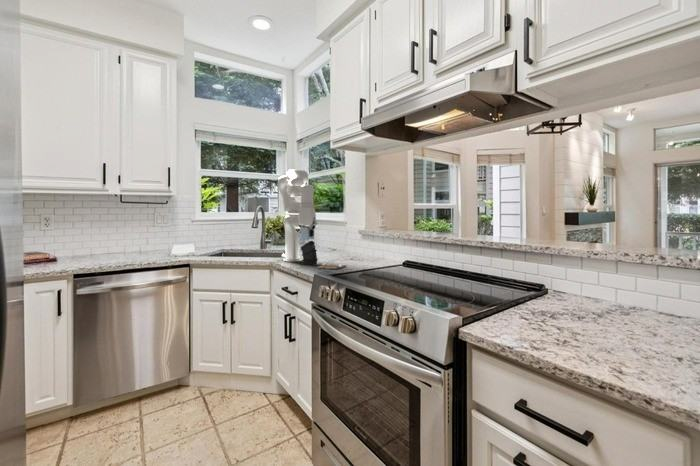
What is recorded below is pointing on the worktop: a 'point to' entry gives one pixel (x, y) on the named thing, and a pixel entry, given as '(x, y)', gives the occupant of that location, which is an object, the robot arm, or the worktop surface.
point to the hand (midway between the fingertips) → (307, 236)
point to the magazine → (309, 253)
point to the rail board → (331, 266)
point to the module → (306, 233)
